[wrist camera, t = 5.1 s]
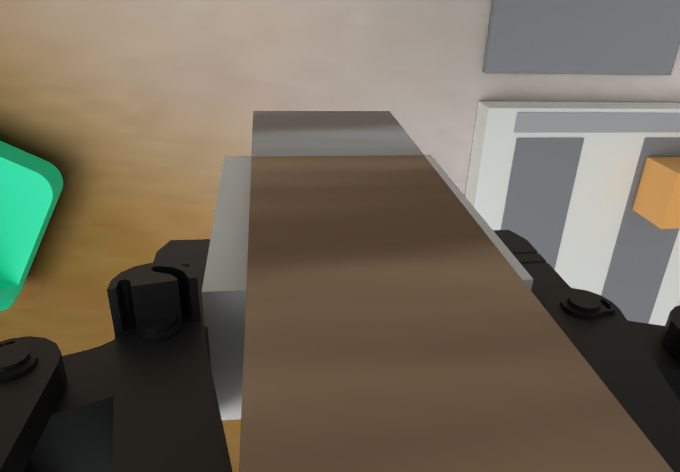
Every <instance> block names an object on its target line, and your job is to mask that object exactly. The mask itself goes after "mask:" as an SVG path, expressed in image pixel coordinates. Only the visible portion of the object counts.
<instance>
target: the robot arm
mask: <svg viewBox="0 0 680 472" xmlns="http://www.w3.org/2000/svg"><path fill="white" fill-rule="evenodd" d="M424 156H425V157H426V158H427V160H428V161H429V162H430V163H431V165H432V166H433V167H434V168H435V170H436V171H437V172H438V174H439V175H440V176H441V177H442V179H443V180H444V181H445V182H446V184H447V185H448V186H449V187H450V189H451V190H452V191H453V193H454V194H455V195H456V196H457V198H458V199H459V200H460V201H461V203H462V204H463V205H464V206H465V208H466V209H467V210H468V212H469V213H470V214H471V215H472V217H473V218H474V219H475V220H476V222H477V223H478V224H479V225H480V227H481V228H482V229H483V231H484V232H485V233H486V234H487V236H488V237H489V238H490V239H491V241H492V242H493V243H494V244H495V246H496V247H497V248H498V250H499V251H500V252H501V253H502V255H503V256H504V257H505V258H506V260H507V261H508V262H509V263H510V265H511V266H512V267H513V269H514V270H515V271H516V272H517V274H518V275H519V276H520V277H521V279H522V280H523V281H524V283H525V284H526V285H527V286H528V288H529V289H530V290H531V291H532V293H533V294H534V295H535V296H536V298H537V299H538V300H539V302H540V303H541V304H542V305H543V307H544V308H545V309H546V310H547V312H548V313H549V314H550V315H551V317H552V318H553V319H554V321H555V322H556V323H557V324H558V326H559V327H560V328H561V329H562V331H563V332H564V333H565V334H566V336H567V337H568V338H569V340H570V341H571V342H572V343H573V345H574V346H575V347H576V348H577V350H578V351H579V352H580V353H581V355H582V356H583V357H584V359H585V360H586V361H587V362H588V364H589V365H590V366H591V367H592V369H593V370H594V371H595V372H596V374H597V375H598V376H599V378H600V379H601V380H602V381H603V383H604V384H605V385H606V386H607V388H608V389H609V390H610V391H611V393H612V394H613V395H614V397H615V398H616V399H617V400H618V402H619V403H620V404H621V405H622V407H623V408H624V409H625V410H626V412H627V413H628V414H629V416H630V417H631V418H632V419H633V421H634V422H635V423H636V424H637V426H638V427H639V428H640V429H641V431H642V432H643V433H644V435H645V436H646V437H647V438H648V440H649V441H650V442H651V443H652V445H653V446H654V447H655V449H656V450H657V451H658V452H659V454H660V455H661V456H662V457H663V459H664V460H665V461H666V462H667V464H668V465H669V466H670V468H671V469H672V470H673V471H674V472H680V306H676V307H674V308H673V309H672V310H671V311H670V314H669V316H668V319H667V322H666V325H665V326H661V325H654V324H648V323H641V322H634V321H628V320H627V319H626V318H625V316H624V315H623V313H622V312H621V310H620V309H619V308H618V307H617V306H616V305H615V304H614V303H613V302H611V301H610V300H608V299H606V298H604V297H603V296H601V295H598V294H595V293H593V292H590V291H587V290H581V289H575V288H571V287H570V286H569V285H568V284H567V283H566V282H565V281H564V280H563V279H562V278H561V276H560V275H559V274H558V273H557V272H556V271H555V270H554V269H553V268H552V267H551V266H550V264H549V263H546V260H545V259H544V258H543V257H542V256H541V255H540V254H538V253H537V252H538V251H537V250H536V249H535V248H534V247H533V246H532V245H531V244H530V243H529V241H528V240H526V239H525V238H523V237H521V236H519V235H517V234H516V233H514V232H512V231H510V230H492V228H491V227H490V226H489V225H488V224H487V222H486V221H485V220H484V219H483V218H482V216H481V215H480V214H479V213H478V211H477V210H476V209H475V208H474V207H473V205H472V204H471V203H470V202H469V201H468V199H467V198H466V197H465V196H464V195H463V193H462V192H461V191H460V190H459V188H458V187H457V186H456V185H455V184H454V182H453V181H452V180H451V179H450V178H449V176H448V175H447V174H446V173H445V172H444V170H443V169H442V168H441V167H440V165H439V164H438V163H437V162H436V161H435V159H434V158H433V157H432V156H431V155H424ZM251 158H252V156H224V162H223V168H222V174H221V180H220V186H219V192H218V197H217V203H216V209H215V215H214V221H213V227H212V233H211V239H204V240H170V241H169V242H168V243H167V244H166V245H165V246H163V247H162V248H161V249H160V250H159V251H158V252H157V253H156V256H155V259H154V262H153V263H149V264H144V265H140V266H135V267H133V268H130V269H128V270H126V271H123V272H121V273H120V274H119V275H117V276H116V277H115V278H114V279H112V280H111V282H110V284H109V286H108V289H107V292H108V298H109V303H110V309H111V314H112V320H113V326H114V331H115V339H114V340H113V341H110V342H108V343H106V344H104V345H102V346H99V347H96V348H93V349H89V350H86V351H82V352H78V353H74V354H69V355H65V356H62V355H61V351H60V350H59V348H58V346H57V344H56V343H54V342H52V341H50V340H48V339H46V338H41V337H30V336H28V337H20V338H12V339H8V340H4V341H1V342H0V472H232V467H231V462H230V458H229V453H228V448H227V443H226V438H225V434H224V429H223V424H222V420H235V419H241V411H242V386H243V360H244V335H245V310H246V284H247V259H248V234H249V209H250V183H251Z"/></svg>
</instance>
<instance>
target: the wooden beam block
mask: <svg viewBox="0 0 680 472" xmlns="http://www.w3.org/2000/svg"><path fill="white" fill-rule="evenodd" d="M239 472H674V471H673V470H672V469H671V468H670V466H669V465H668V464H667V462H666V461H665V460H664V459H663V457H662V456H661V455H660V454H659V452H658V451H657V450H656V449H655V447H654V446H653V445H652V443H651V442H650V441H649V440H648V438H647V437H646V436H645V435H644V433H643V432H642V431H641V429H640V428H639V427H638V426H637V424H636V423H635V422H634V421H633V419H632V418H631V417H630V416H629V414H628V413H627V412H626V410H625V409H624V408H623V407H622V405H621V404H620V403H619V402H618V400H617V399H616V398H615V397H614V395H613V394H612V393H611V391H610V390H609V389H608V388H607V386H606V385H605V384H604V383H603V381H602V380H601V379H600V378H599V376H598V375H597V374H596V372H595V371H594V370H593V369H592V367H591V366H590V365H589V364H588V362H587V361H586V360H585V359H584V357H583V356H582V355H581V353H580V352H579V351H578V350H577V348H576V347H575V346H574V345H573V343H572V342H571V341H570V340H569V338H568V337H567V336H566V334H565V333H564V332H563V331H562V329H561V328H560V327H559V326H558V324H557V323H556V322H555V321H554V319H553V318H552V317H551V315H550V314H549V313H548V312H547V310H546V309H545V308H544V307H543V305H542V304H541V303H540V302H539V300H538V299H537V298H536V296H535V295H534V294H533V293H532V291H531V290H530V289H529V288H528V286H527V285H526V284H525V283H524V281H523V280H522V279H521V277H520V276H519V275H518V274H517V272H516V271H515V270H514V269H513V267H512V266H511V265H510V263H509V262H508V261H507V260H506V258H505V257H504V256H503V255H502V253H501V252H500V251H499V250H498V248H497V247H496V246H495V244H494V243H493V242H492V241H491V239H490V238H489V237H488V236H487V234H486V233H485V232H484V231H483V229H482V228H481V227H480V225H479V224H478V223H477V222H476V220H475V219H474V218H473V217H472V215H471V214H470V213H469V212H468V210H467V209H466V208H465V206H464V205H463V204H462V203H461V201H460V200H459V199H458V198H457V196H456V195H455V194H454V193H453V191H452V190H451V189H450V187H449V186H448V185H447V184H446V182H445V181H444V180H443V179H442V177H441V176H440V175H439V174H438V172H437V171H436V170H435V168H434V167H433V166H432V165H431V163H430V162H429V161H428V160H427V158H426V157H425V156H424V155H423V153H422V152H421V151H420V149H419V148H418V147H417V146H416V144H415V143H414V142H413V141H412V139H411V138H410V137H409V136H408V134H407V133H406V132H405V130H404V129H403V128H402V127H401V125H400V124H399V123H398V122H397V120H396V119H395V118H394V117H393V115H392V114H391V113H390V111H253V133H252V158H251V183H250V209H249V234H248V259H247V284H246V310H245V335H244V360H243V386H242V411H241V436H240V462H239Z"/></svg>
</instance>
